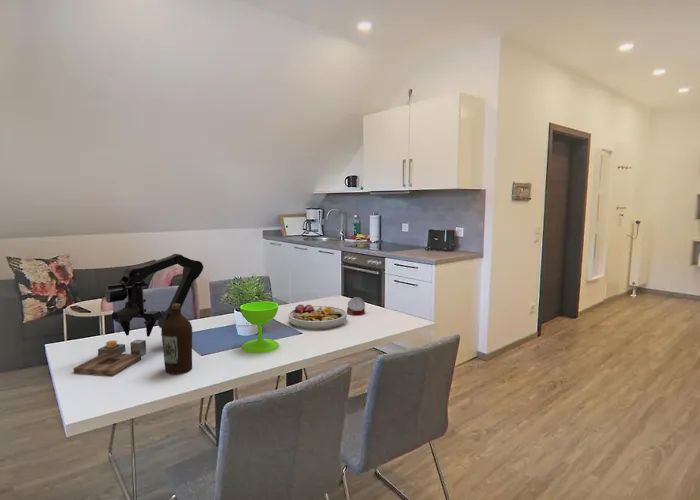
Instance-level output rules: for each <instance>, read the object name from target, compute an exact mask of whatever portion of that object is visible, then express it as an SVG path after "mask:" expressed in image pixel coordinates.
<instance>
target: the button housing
mask: <svg viewBox="0 0 700 500" xmlns="http://www.w3.org/2000/svg"><path fill="white" fill-rule="evenodd" d="M126 349H127V348H126V344H124V343H117V347H116V348H114V349H107V348H106V345H104V346H102V347H99V348H98V349H97V354H98V355H97V356H99V355H101V354H103V353H120V354H124V353H125V352H126Z"/></svg>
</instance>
